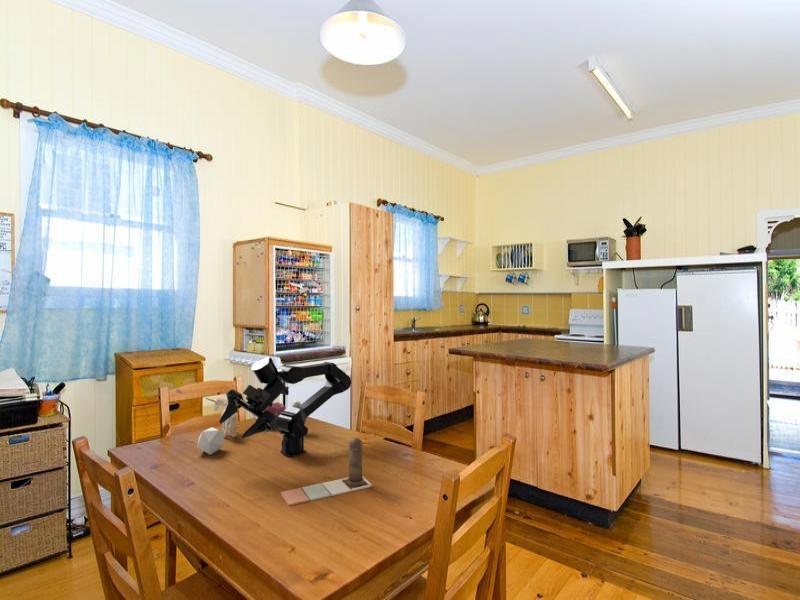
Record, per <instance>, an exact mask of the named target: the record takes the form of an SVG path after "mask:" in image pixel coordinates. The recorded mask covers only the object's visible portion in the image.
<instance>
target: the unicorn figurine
mask: <svg viewBox="0 0 800 600" xmlns="http://www.w3.org/2000/svg"><path fill="white" fill-rule="evenodd" d="M205 400H208V401H210V402H212V403H214V407H213V410H214V411H218V410H219V409H220V407H222V411H221V415H220V418H221V417H222V415H223V414H224V412H225V410H226V408H227V405H228V400H227V398H225V397H217V398H215V399H211V398H208V397H205ZM237 421H238V413H237V412H236V413H235V414H234V415H232V416H231V417H230V418H228V419H227V420H226V421H225V422H223V423H221V424H222V429H221V432H222V433H223V434H224V435H225V436H224V439H225V437H226V438H227V437H228V436H229V437H230V436H231V437H232V438H237V435H238V434H237ZM227 433H228V436H227Z"/></svg>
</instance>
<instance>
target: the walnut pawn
mask: <svg viewBox="0 0 800 600" xmlns="http://www.w3.org/2000/svg"><path fill="white" fill-rule="evenodd" d="M363 447H364V443H363V441H362V440H361V438H358V437H355V438H354V437H353V438H351V440H350V441H349V442H348V448H349V449H348V477H349V478H348V477H347V478H348V479H347V480H346V483H347V484H346V486H347V487H349V488H357V487H361V486H365V485H364V484H365V482H364V478H365V477H364V476H363ZM362 476H363V477H364V478H363V477H362Z"/></svg>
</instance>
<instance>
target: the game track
mask: <svg viewBox="0 0 800 600" xmlns="http://www.w3.org/2000/svg"><path fill="white" fill-rule="evenodd" d="M362 477H363V478H364V484H365V483H366V484H365V485H363V486H360V487H351V489H350V487H349V486H348V485H347V484H346V483H345V481H346V482H347V479H348V478H349V476H348V477H345V478H340V479H335V480H331V481H327V482H326V481H324V482H320V483H315V484H310V485H307V486H303V487H297V488H292V489H287V490H285V491H284V490H283V491H280V495H281V497H282V498H283V500H284V501H285V503H286V505H287V506H288V507H290V506H294V505H298V504H302V503H307V502H312V501H316V500H319V499H324V498H328V497H331V496H332V497H333V496H338V495H341V494H346V493H350V492H354V491H359V490H364V489H367V488H372V487H373V486H374V485H373V484H372V483H371V482H370V481H369V480H368V479H366V477H364V476H363V475H362Z"/></svg>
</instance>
